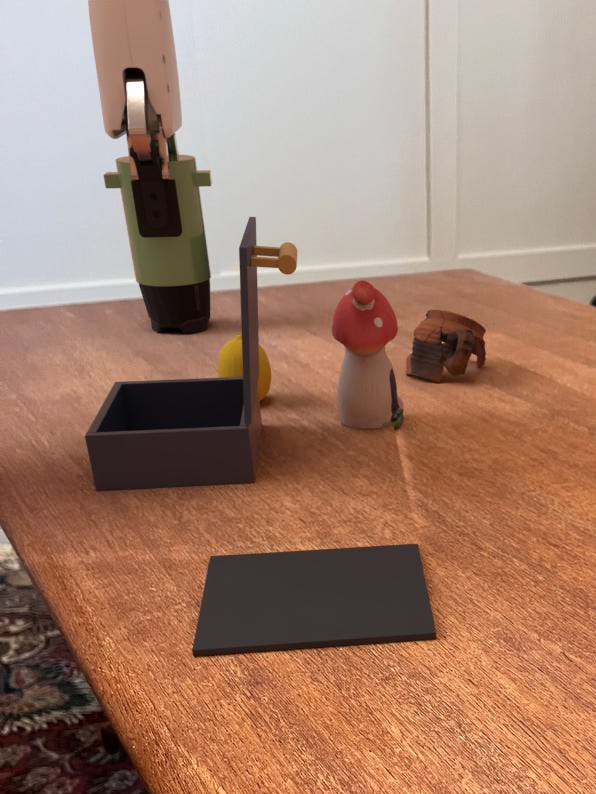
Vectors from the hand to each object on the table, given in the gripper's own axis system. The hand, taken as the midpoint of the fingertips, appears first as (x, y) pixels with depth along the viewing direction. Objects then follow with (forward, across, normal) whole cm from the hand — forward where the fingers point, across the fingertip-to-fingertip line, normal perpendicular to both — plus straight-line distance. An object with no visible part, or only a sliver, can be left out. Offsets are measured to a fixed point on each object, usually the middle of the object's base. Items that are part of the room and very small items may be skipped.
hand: (165, 226), depth 81 cm
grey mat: (+22, +24, +10) cm, 34 cm away
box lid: (+8, -4, +5) cm, 11 cm away
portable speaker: (+22, -57, -7) cm, 61 cm away
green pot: (+4, 0, 0) cm, 4 cm away
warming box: (+22, -4, -2) cm, 22 cm away
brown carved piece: (+22, -30, +27) cm, 45 cm away
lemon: (+22, -20, +3) cm, 30 cm away
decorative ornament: (+22, -13, +16) cm, 30 cm away
